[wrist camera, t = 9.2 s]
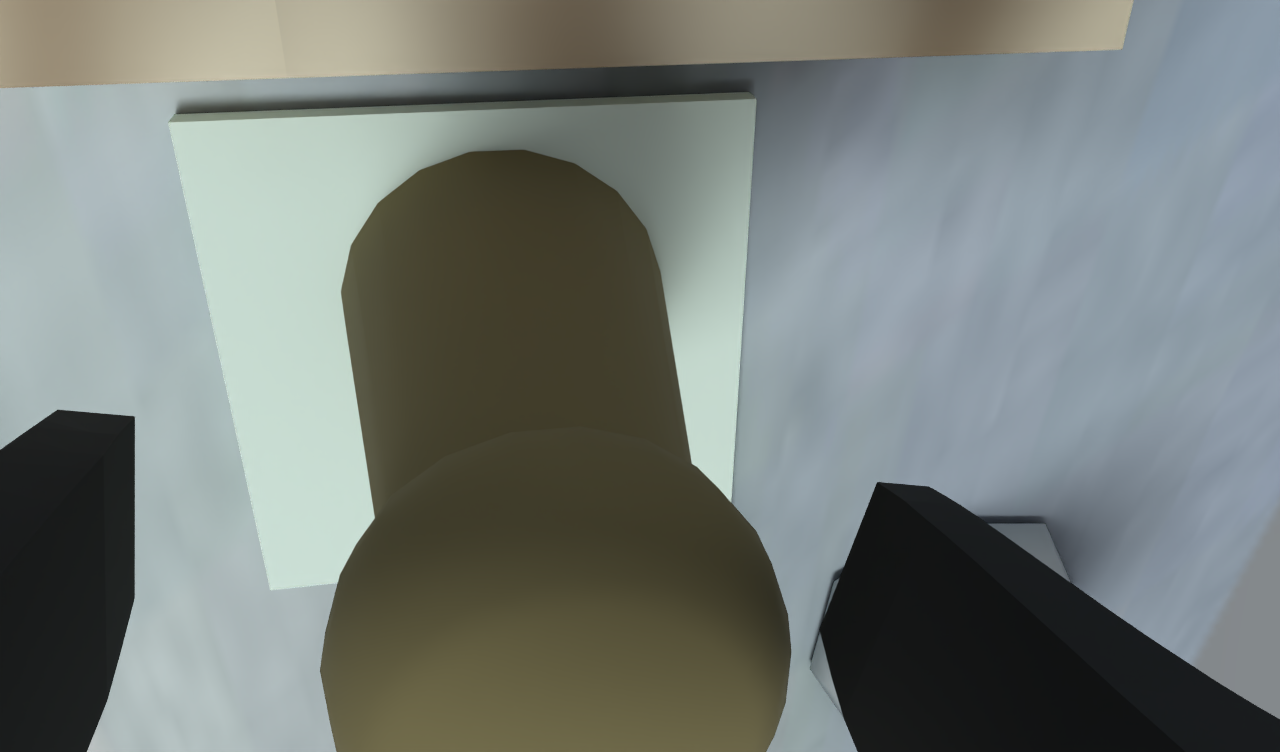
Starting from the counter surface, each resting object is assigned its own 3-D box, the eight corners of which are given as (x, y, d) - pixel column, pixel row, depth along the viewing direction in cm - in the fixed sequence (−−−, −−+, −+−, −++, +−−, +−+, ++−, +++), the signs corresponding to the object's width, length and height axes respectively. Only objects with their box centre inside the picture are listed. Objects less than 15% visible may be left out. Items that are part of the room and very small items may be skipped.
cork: (679, 403, 22) (878, 883, 12) (390, 466, 21) (362, 1019, 12) (638, 118, 18) (862, 465, 9) (297, 186, 18) (155, 628, 8)
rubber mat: (273, 575, 22) (270, 590, 22) (174, 113, 17) (168, 121, 17) (723, 526, 24) (728, 540, 24) (749, 91, 19) (757, 98, 19)
